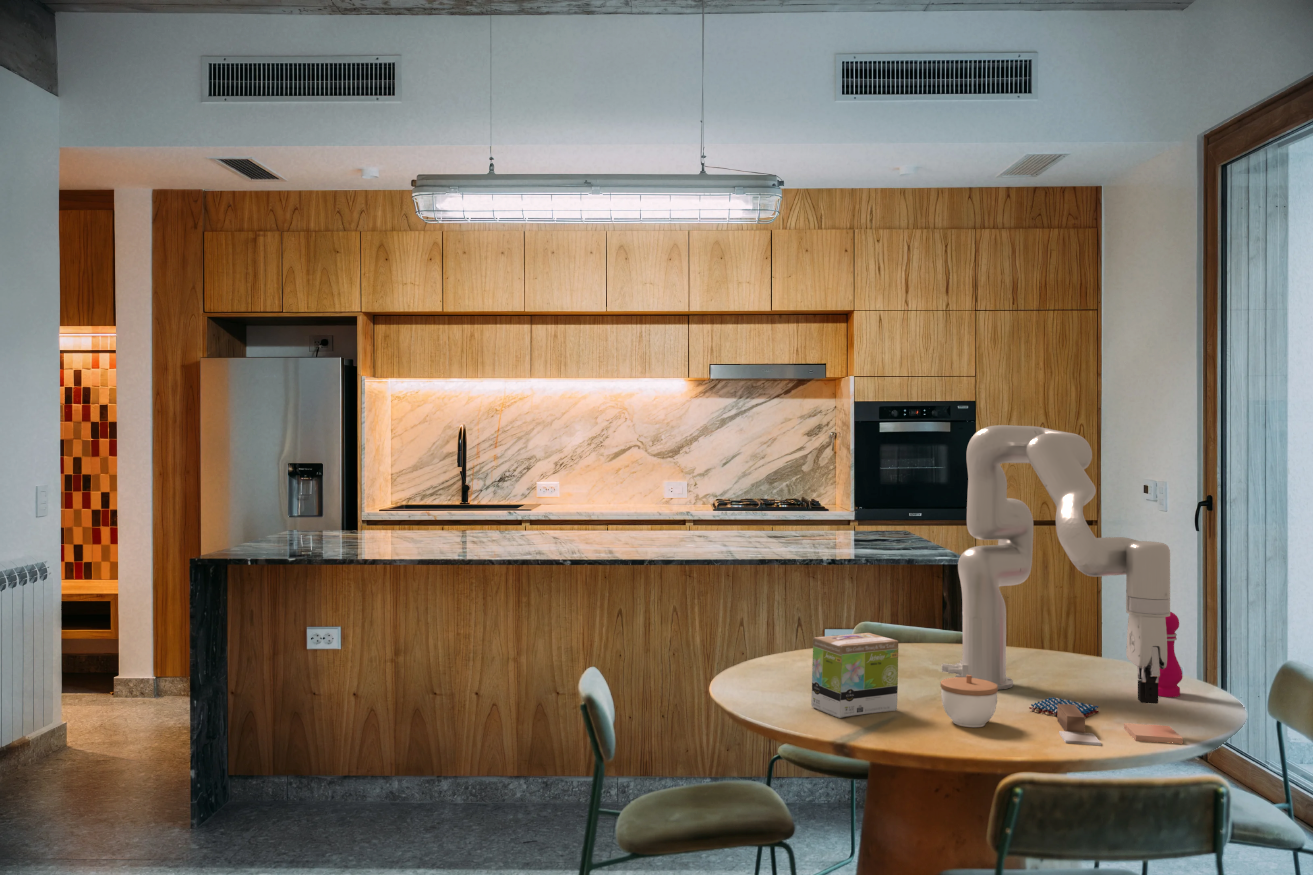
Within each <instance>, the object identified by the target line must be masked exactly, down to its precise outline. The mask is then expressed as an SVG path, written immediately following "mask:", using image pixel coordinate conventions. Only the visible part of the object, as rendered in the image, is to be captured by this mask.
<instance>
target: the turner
mask: <svg viewBox="0 0 1313 875" xmlns="http://www.w3.org/2000/svg"><path fill="white" fill-rule="evenodd" d="M1056 719H1057V722H1058V724H1059V725H1060V727H1061V729H1062V730H1059V731H1058V734H1059V735H1060V738H1062V740H1063V741H1064V743H1065V744H1072V745H1073V744H1074V745H1086V746H1088V745H1089V746H1099V747H1100V746H1102V742H1101V741H1100V740H1099V739H1098V737H1097V736H1096V735H1095V734H1094V732H1093V733H1092V732H1086V717H1084V715H1083V714H1082V713H1081V712H1080V711H1079V709H1078V708H1077V707H1076V706H1075V705H1071V704H1070V705H1069V704H1057V716H1056Z"/></svg>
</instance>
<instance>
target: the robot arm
mask: <svg viewBox="0 0 1313 875" xmlns="http://www.w3.org/2000/svg"><path fill="white" fill-rule="evenodd" d="M1092 460H1093V451H1092V448H1091V446H1090V443H1089V442H1088V441H1087V439H1086V438H1084V436H1083V437H1082V435H1079V434H1076V433H1074V432H1067V431H1063V430H1056V429H1051V428H1046V427H1041V426H1036V425H1035V426H1033V425H1012V424H1011V425H1010V424H1009V425H1007V424H1006V425H1005V424H999V425H998V424H997V425H990V426H986V427H983V428H981V429H979V430H978V431H976V432H975V433H974V434H973V436H971V438H970V439H969V442H968V444H967V448H966V468H967V478H968V480H967V499H966V501H967V502H966V528H967V531H968V533H969V534H970V536H972V537H973V538H974V539H975V540H976V539H977V540H982V541H997V544H991V545H979V546H978V545H976V546H973V547H969V548H967V549H966V550H964V551H963V552H962V553H961V555H960V556H959V559H958V561H957V562H958V563H957V572H958V577H959V581H960V587H961V588H960V589H961V599H962V601H961V602H962V605H961V606H962V607H961V608H962V612H961V613H962V659H959V662H955V663H954V664H953V663H952V664H951V663H941V672H942V673H947V674H955V677H966V675H972V678H977V679H983V680H987V681H990V682H993V683H995V684H996V685H997V686H998V690H1008V689H1010V688H1012V687H1013V686H1014V680H1013V679H1012V678H1010V677H1009V676H1007V606H1006V601H1005V600H1004V597H1003V595H1002V592H1001V590H1000V587H1008V586H1009V587H1011V586H1017V585H1020V584H1023V583H1024V582H1025V581H1027V579H1028V578H1029V576H1030V574H1031V571H1032V565H1033V551H1034V550H1033V547H1034V517H1033V515H1032V512H1031V510H1030V508H1029V506H1028V505H1027V504H1026V503H1025V502H1024V501H1023V500H1020V499H1017V498H1010V497H1008V498H1007V496H1008V495H1007V494H1008V493H1007V490H1008V482H1007V481H1008V480H1007V476H1006V473H1005V471H1004V469H1003V467H1002V466H1001V464H1030V465H1031V467H1032V469H1033V470H1034V472H1035V473H1036V475H1037V476H1038V478H1039V480H1040V482H1041V483H1042V485H1043V486H1044V488H1045V490H1046V491H1047V493H1048V495H1049V497H1050V498H1051V500H1052V501H1053V503H1054V505H1055V507H1056V513H1055V528H1056V530H1055V531H1056V535H1057V538H1058V541H1059V543H1060V545H1061V546H1062V548H1063V550H1064V552H1065V554H1066V555H1067V557H1068V559H1069V560H1070V561H1071V563H1072V564H1073V565H1074V567H1075V568H1076V569H1077V571H1079V572H1080V573H1082V574H1084V575H1085V576H1088V577H1094V578H1095V577H1108V576H1110V577H1111V576H1125V575H1126V576H1125V579H1126V580H1125V581H1126V585H1125V586H1126V590H1125V592H1126V594H1125V604H1126V605H1125V606H1126V607H1125V612H1126V613H1127V614H1128V619H1127V631H1126V649H1125V650H1126V659H1128V661H1129V662H1130V663H1132V664H1134V665H1135V666H1136V668H1137V670H1136V671H1137V700H1138V701H1139V703H1140V704H1141V703H1142V704H1154V705H1155V704H1156V705H1157V704H1159V696H1158V681H1159V677H1160V668H1161V669H1164V668H1166V666H1167V633H1166V620H1165V617H1168V616H1170V612H1171V549H1170V547H1169V546H1168V545H1167V544H1165V543H1163V542H1159V541H1150V540H1149V541H1147V540H1141V541H1140V540H1137V539H1133V538H1129V537H1124V536H1117V537H1116V536H1115V537H1112V536H1111V537H1110V536H1109V537H1108V536H1106V537H1096V536H1095V534H1094V532H1093V531H1092V530H1091V528H1090V526H1089V524H1088V523H1087V521H1086V519H1085V516H1084V506H1086V505H1087V504H1088V503H1089V502H1090V501H1092V500H1093V499H1094V497H1095V495H1096V493H1097V492H1096V491H1097V490H1096V486H1095V484H1094V482H1092V480H1091V479H1090V476H1089V475H1088V474H1087V471H1085V469H1087V468H1089V465H1090V464H1091V462H1092Z"/></svg>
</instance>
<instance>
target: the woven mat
mask: <svg viewBox="0 0 1313 875" xmlns="http://www.w3.org/2000/svg"><path fill="white" fill-rule="evenodd" d="M1057 704H1069V705H1075V706H1076V707H1077V708H1078V709H1079V711H1080V712H1081V713H1082V714H1083V715H1084V717H1085V718H1087V717H1090V716H1092V715H1094V714H1097V713H1099V710H1098V709H1099V706H1098V705H1093V704H1092V703H1091V704H1088V703H1084V702H1079V701H1072V700H1070V699H1063V698H1059V697H1054V696H1052V697H1050V696H1049V697H1048V698H1045V699H1044V700H1041V701H1038V702H1034V704H1033V703H1031V704H1030V706H1031V707H1030V706H1029V708H1028V709H1029V710H1031V711H1029V713H1033V712H1034V713H1035V714H1039V715H1046V716H1051V717H1057Z"/></svg>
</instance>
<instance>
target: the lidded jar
mask: <svg viewBox="0 0 1313 875" xmlns="http://www.w3.org/2000/svg"><path fill="white" fill-rule="evenodd" d="M998 692H999V691H998V686H997V685H996V684H995V683H993V682H990V681H987V680H983V679H977V678H972V675H966V677H946V678H944V679H942V680H941V681H940V698H941V703H942V707H943V709H944V711H945V713H946V715H947V716H948V718H949V719H950V720H951V721H952V723H953V724H954V725H956V726H959V727H960V726H961V727H966V728H982V727H984V726H986V723H988V722H989V721H990V720H991V719H992V718H993V716H994V714H995V712H996V709H997V704H998Z"/></svg>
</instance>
